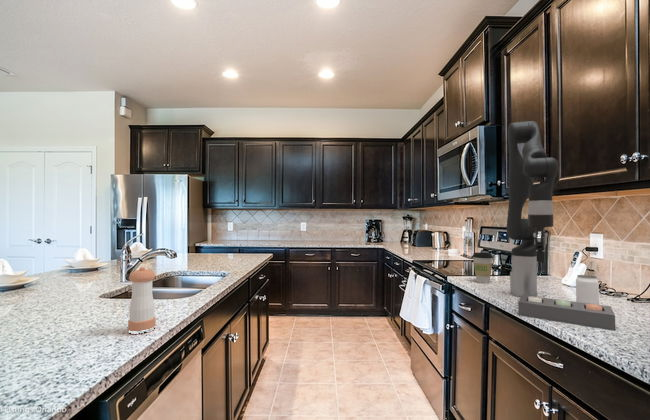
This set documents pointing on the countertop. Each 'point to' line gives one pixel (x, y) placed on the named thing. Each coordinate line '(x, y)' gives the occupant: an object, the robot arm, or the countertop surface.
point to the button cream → (535, 299)
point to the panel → (567, 312)
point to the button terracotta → (594, 307)
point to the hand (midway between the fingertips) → (540, 261)
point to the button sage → (563, 303)
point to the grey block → (587, 289)
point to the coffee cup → (482, 266)
